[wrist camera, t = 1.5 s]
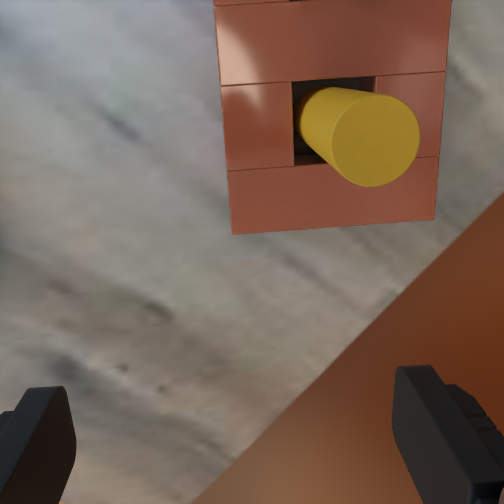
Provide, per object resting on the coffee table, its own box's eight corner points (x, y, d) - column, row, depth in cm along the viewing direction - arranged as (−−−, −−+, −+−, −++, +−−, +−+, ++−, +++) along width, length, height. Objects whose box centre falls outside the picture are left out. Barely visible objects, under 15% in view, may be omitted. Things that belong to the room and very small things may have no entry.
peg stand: (200, -169, 28) (196, -206, 24) (437, -182, 28) (469, -220, 25) (231, 218, 36) (232, 235, 33) (413, 204, 37) (434, 219, 33)
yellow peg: (291, 87, 33) (330, 97, 21) (351, 83, 33) (423, 90, 21) (293, 148, 35) (330, 190, 23) (351, 144, 35) (418, 184, 23)
